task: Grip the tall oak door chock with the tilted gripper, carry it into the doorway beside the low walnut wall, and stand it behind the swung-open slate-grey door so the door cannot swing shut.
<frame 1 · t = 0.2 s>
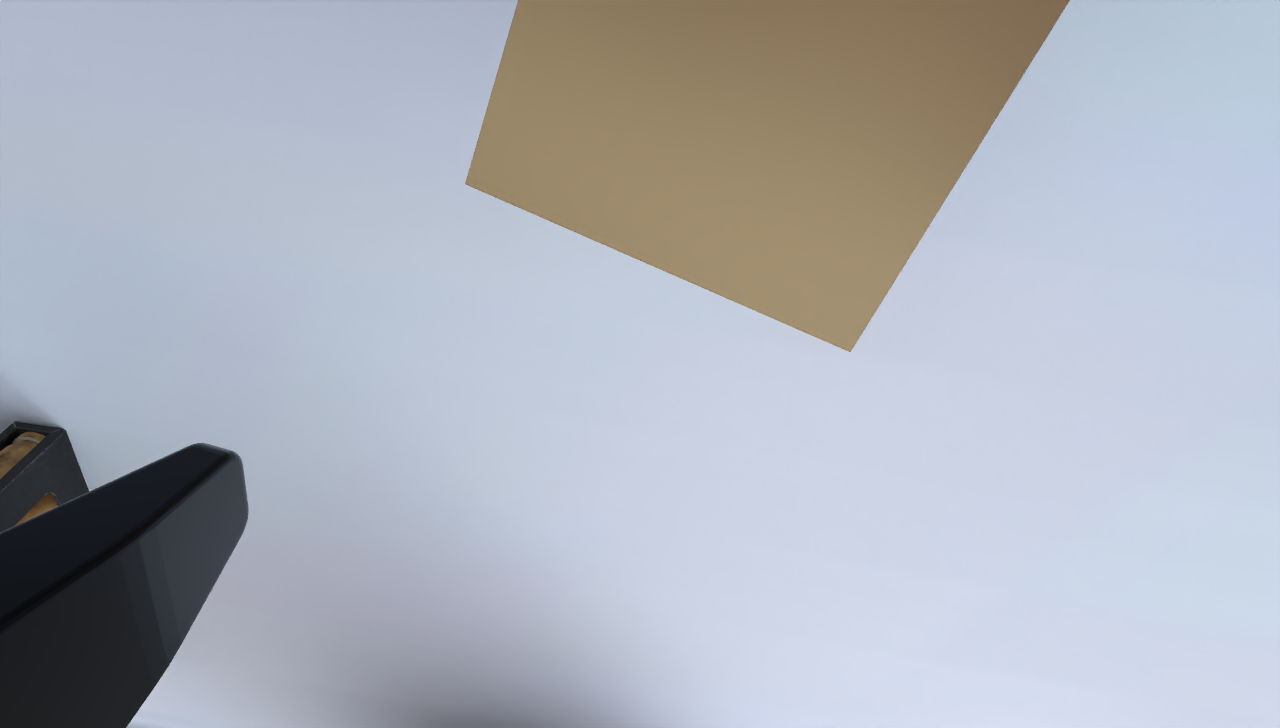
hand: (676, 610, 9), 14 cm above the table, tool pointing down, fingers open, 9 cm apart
ammunition clip: (92, 543, 34), on the table
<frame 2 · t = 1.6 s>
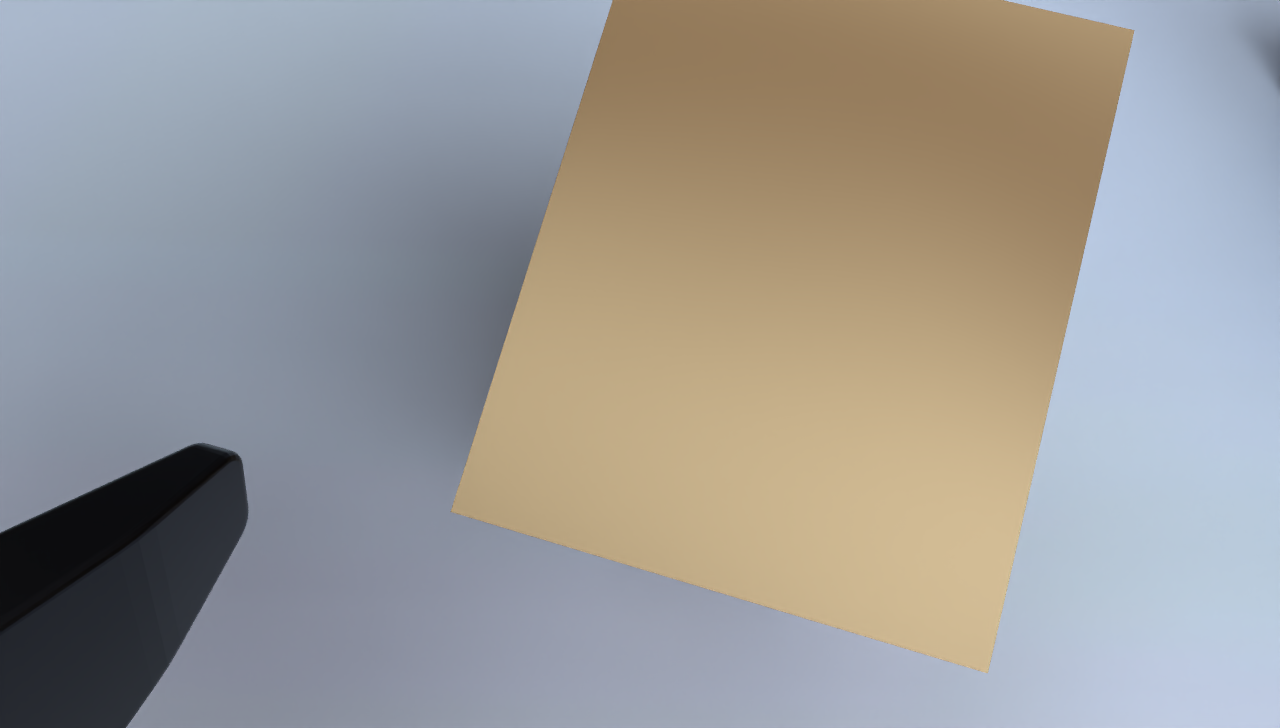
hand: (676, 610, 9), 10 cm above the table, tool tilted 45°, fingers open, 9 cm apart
door chock: (735, 431, 20), on the table
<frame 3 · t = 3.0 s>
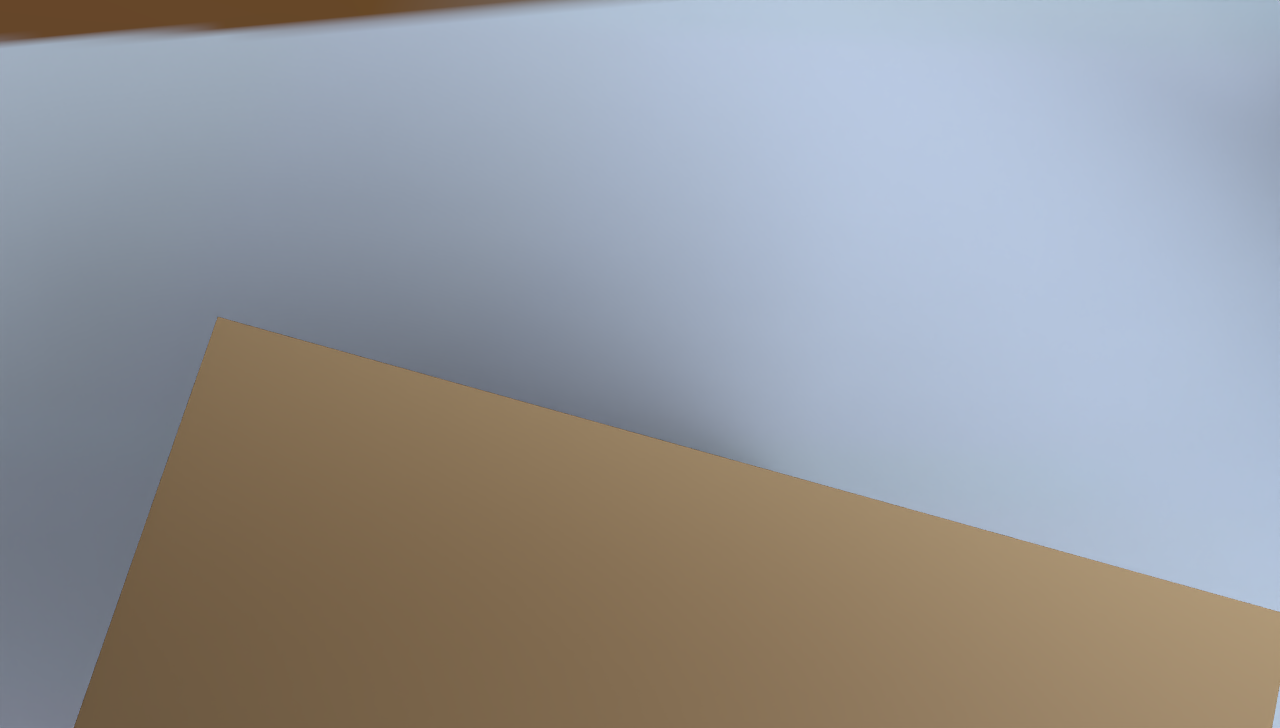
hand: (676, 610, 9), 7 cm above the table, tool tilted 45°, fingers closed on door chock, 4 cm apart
door chock: (661, 657, 15), on the table, touching gripper
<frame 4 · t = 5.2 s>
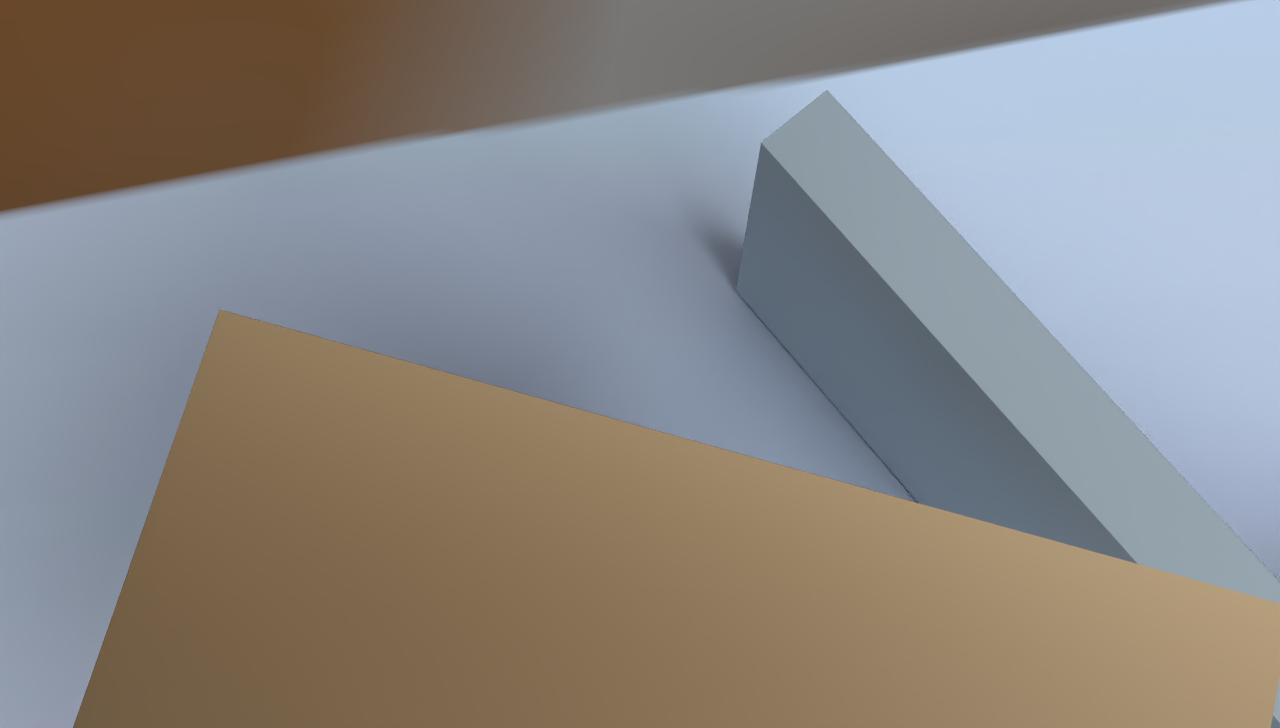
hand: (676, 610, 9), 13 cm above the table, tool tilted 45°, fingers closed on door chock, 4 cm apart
door: (1011, 487, 17), point 5 cm above the table, hinge at 35.0°
door chock: (661, 655, 15), point 6 cm above the table, touching gripper
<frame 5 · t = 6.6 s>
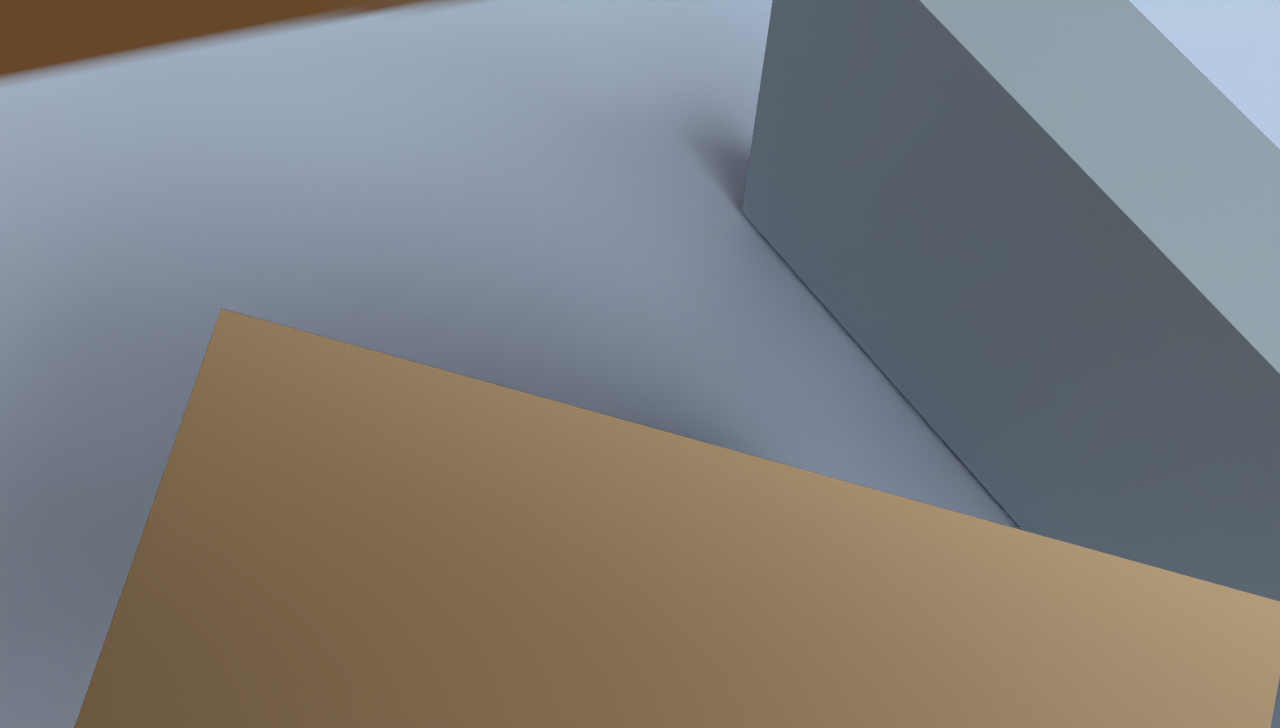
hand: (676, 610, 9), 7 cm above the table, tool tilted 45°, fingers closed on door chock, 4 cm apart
door: (1159, 470, 11), point 5 cm above the table, hinge at 35.0°
door chock: (662, 655, 15), on the table, touching gripper
when the fingers open (7 cm above the table, at t = 7.5 s): door chock stays where it is, on the table.
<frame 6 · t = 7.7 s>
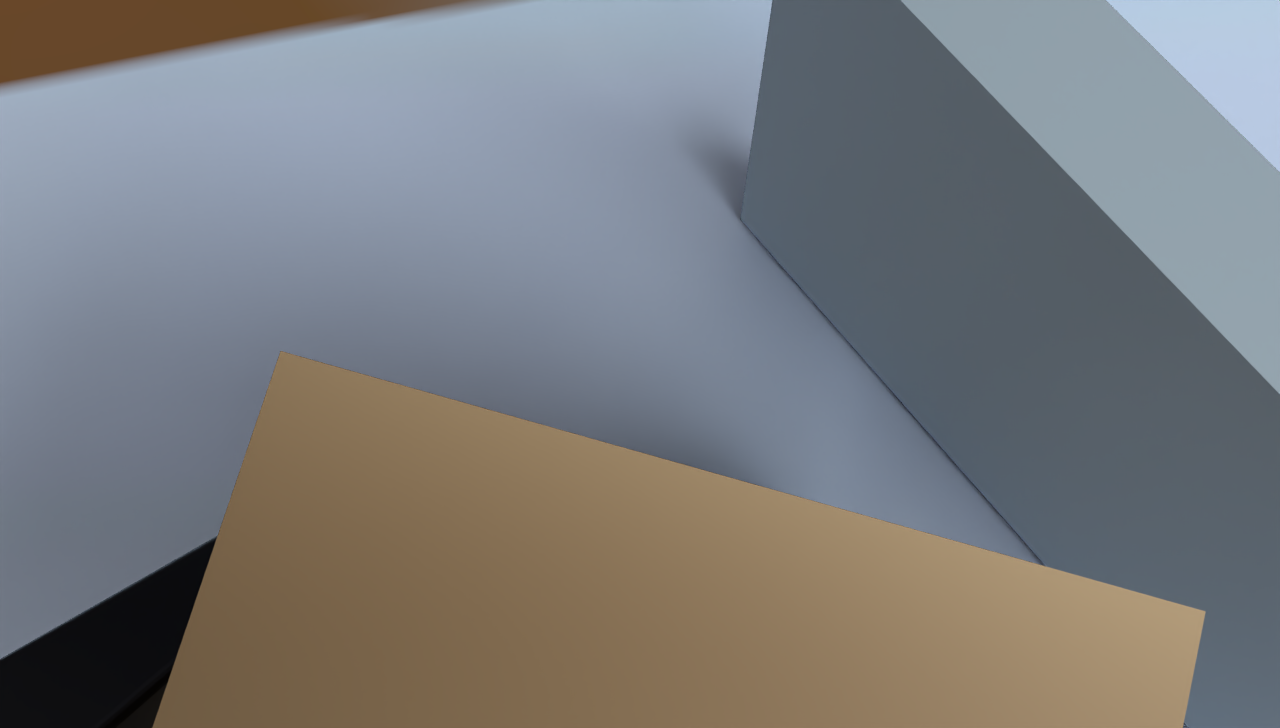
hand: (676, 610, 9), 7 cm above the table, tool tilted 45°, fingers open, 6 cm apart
door: (1155, 477, 11), point 5 cm above the table, hinge at 35.0°
door chock: (661, 653, 16), on the table
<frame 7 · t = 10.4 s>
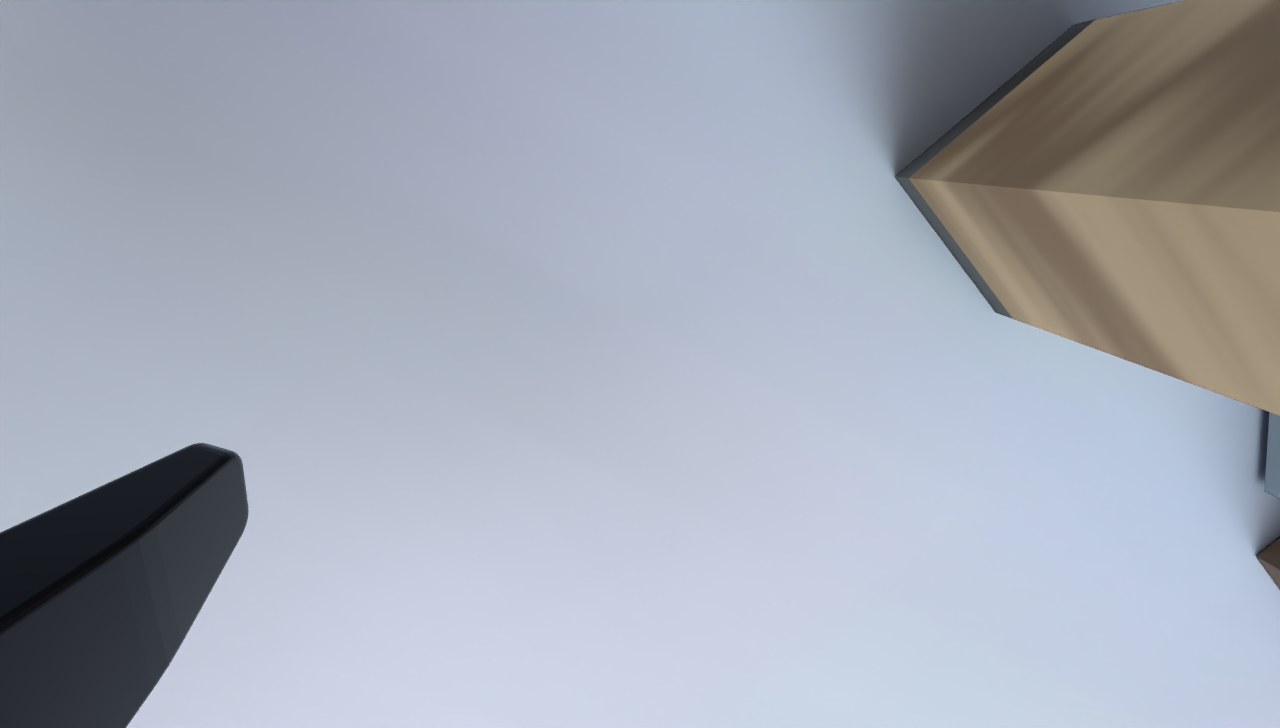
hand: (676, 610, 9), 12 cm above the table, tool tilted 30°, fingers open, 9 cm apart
partition wall: (1083, 240, 22), on the table
door chock: (1034, 172, 22), on the table
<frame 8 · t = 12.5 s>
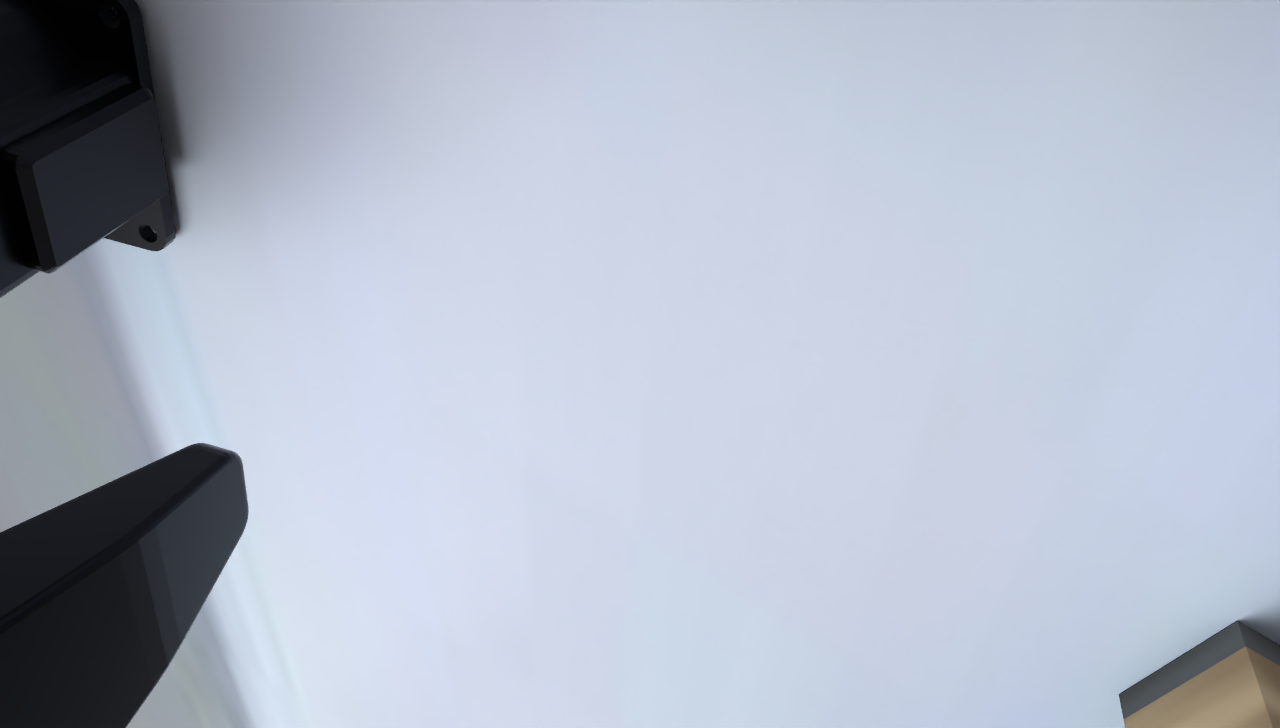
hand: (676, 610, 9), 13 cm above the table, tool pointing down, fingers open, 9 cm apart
door chock: (1252, 703, 26), on the table
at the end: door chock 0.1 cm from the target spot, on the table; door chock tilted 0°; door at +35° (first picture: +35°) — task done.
